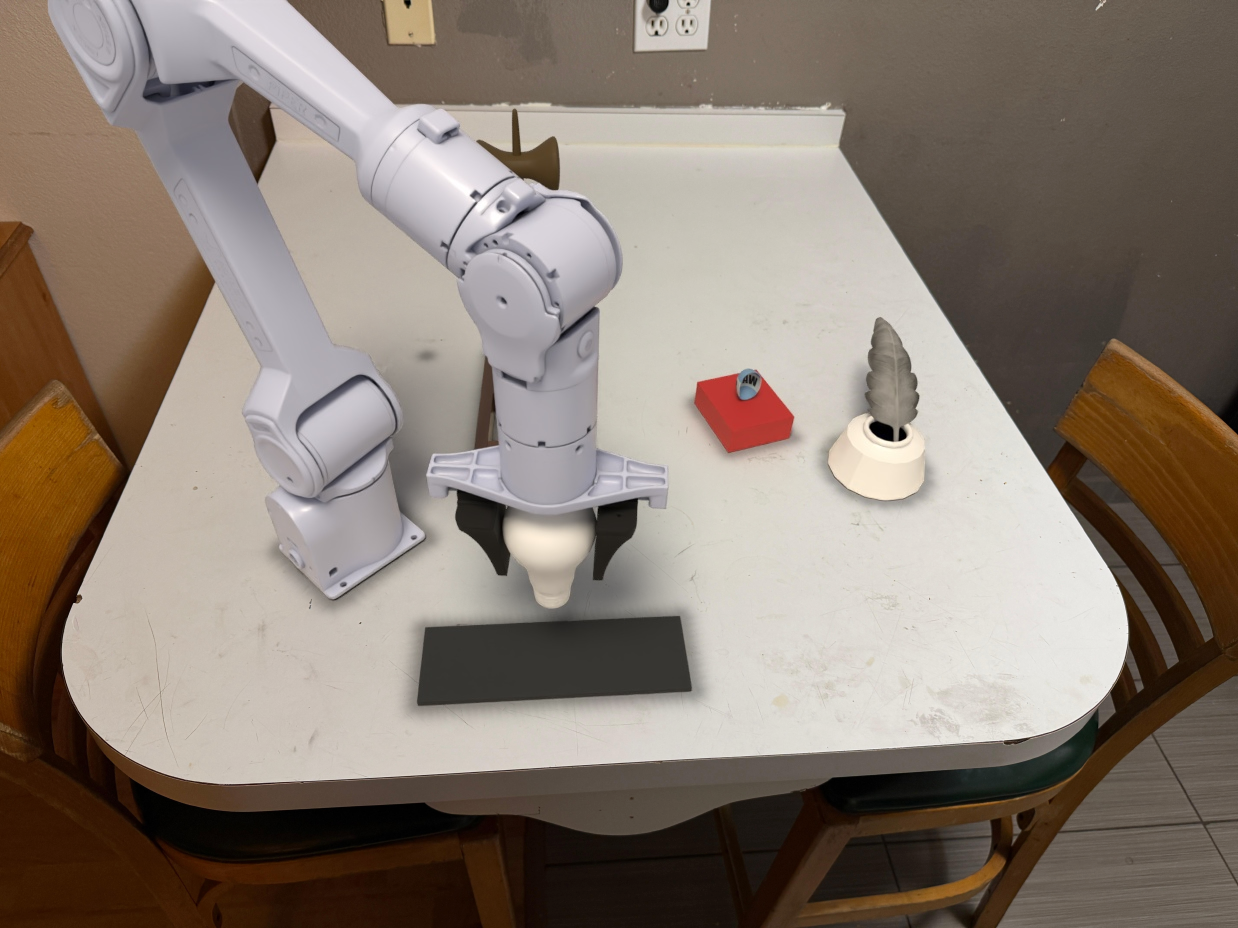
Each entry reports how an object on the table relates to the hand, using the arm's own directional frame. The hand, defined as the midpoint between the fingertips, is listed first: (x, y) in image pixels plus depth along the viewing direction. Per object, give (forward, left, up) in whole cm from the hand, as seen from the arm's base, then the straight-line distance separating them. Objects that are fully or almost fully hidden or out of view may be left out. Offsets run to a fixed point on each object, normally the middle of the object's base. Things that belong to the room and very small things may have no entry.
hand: (551, 566), depth 56 cm
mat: (-1, -1, -10) cm, 10 cm away
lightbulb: (0, 0, -4) cm, 4 cm away
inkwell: (+39, -5, -10) cm, 41 cm away
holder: (+18, +23, -10) cm, 31 cm away
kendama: (+36, +43, -10) cm, 57 cm away
